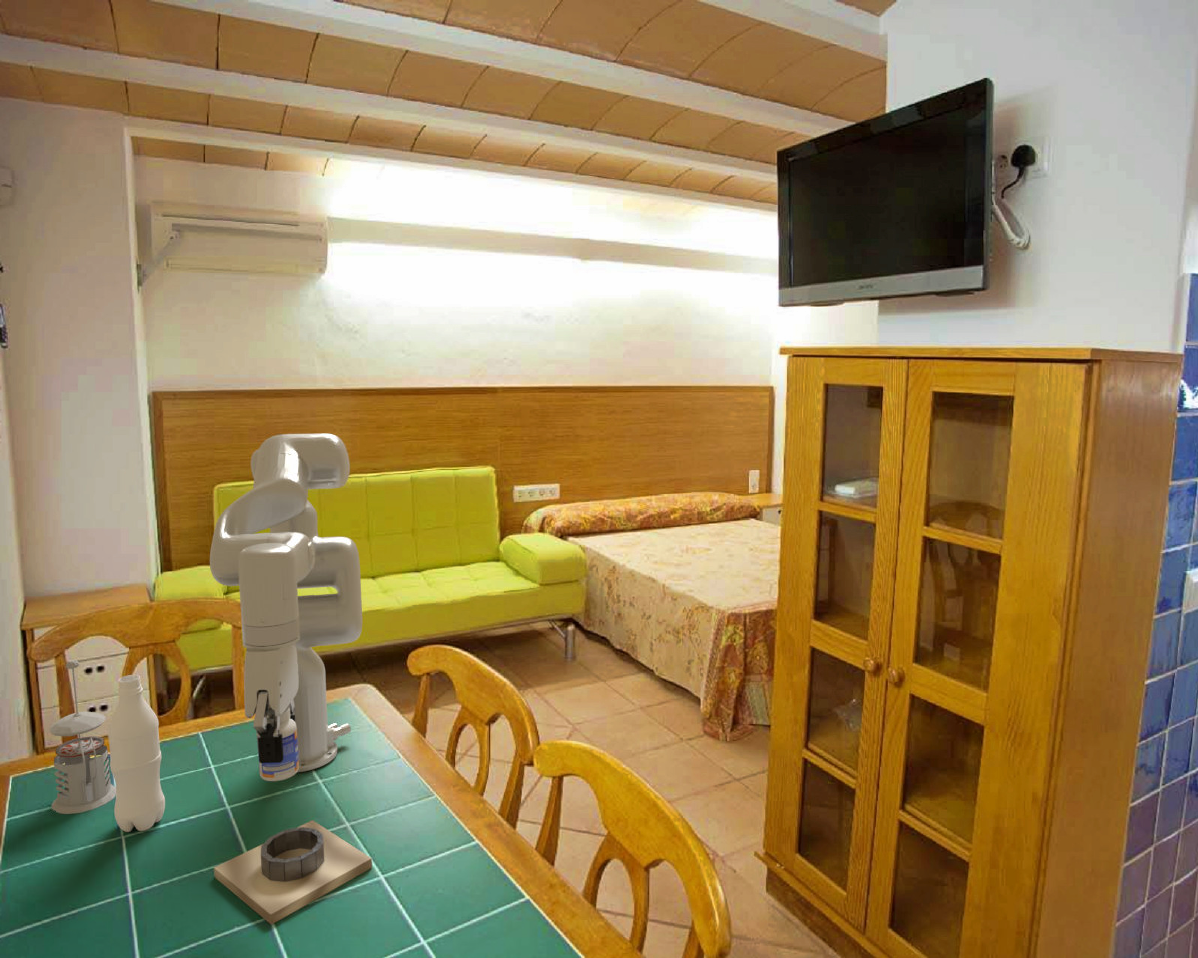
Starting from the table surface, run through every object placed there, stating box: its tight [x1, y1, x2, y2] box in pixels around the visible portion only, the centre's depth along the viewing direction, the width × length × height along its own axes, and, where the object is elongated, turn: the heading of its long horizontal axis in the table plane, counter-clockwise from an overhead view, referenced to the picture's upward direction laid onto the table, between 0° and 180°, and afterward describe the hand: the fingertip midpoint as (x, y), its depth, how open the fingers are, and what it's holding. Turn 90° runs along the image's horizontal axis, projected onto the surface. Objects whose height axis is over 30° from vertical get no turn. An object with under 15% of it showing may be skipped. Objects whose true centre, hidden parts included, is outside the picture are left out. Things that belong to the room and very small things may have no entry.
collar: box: [261, 826, 324, 882], centre depth 119 cm, size 9×9×3 cm
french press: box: [49, 659, 116, 815], centre depth 137 cm, size 10×12×25 cm
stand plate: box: [213, 820, 373, 925], centre depth 119 cm, size 16×16×2 cm
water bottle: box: [107, 674, 166, 833], centre depth 130 cm, size 7×7×25 cm
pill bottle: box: [256, 706, 299, 782], centre depth 116 cm, size 5×5×10 cm
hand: (278, 749), depth 116 cm, fingers closed on pill bottle, 5 cm apart
